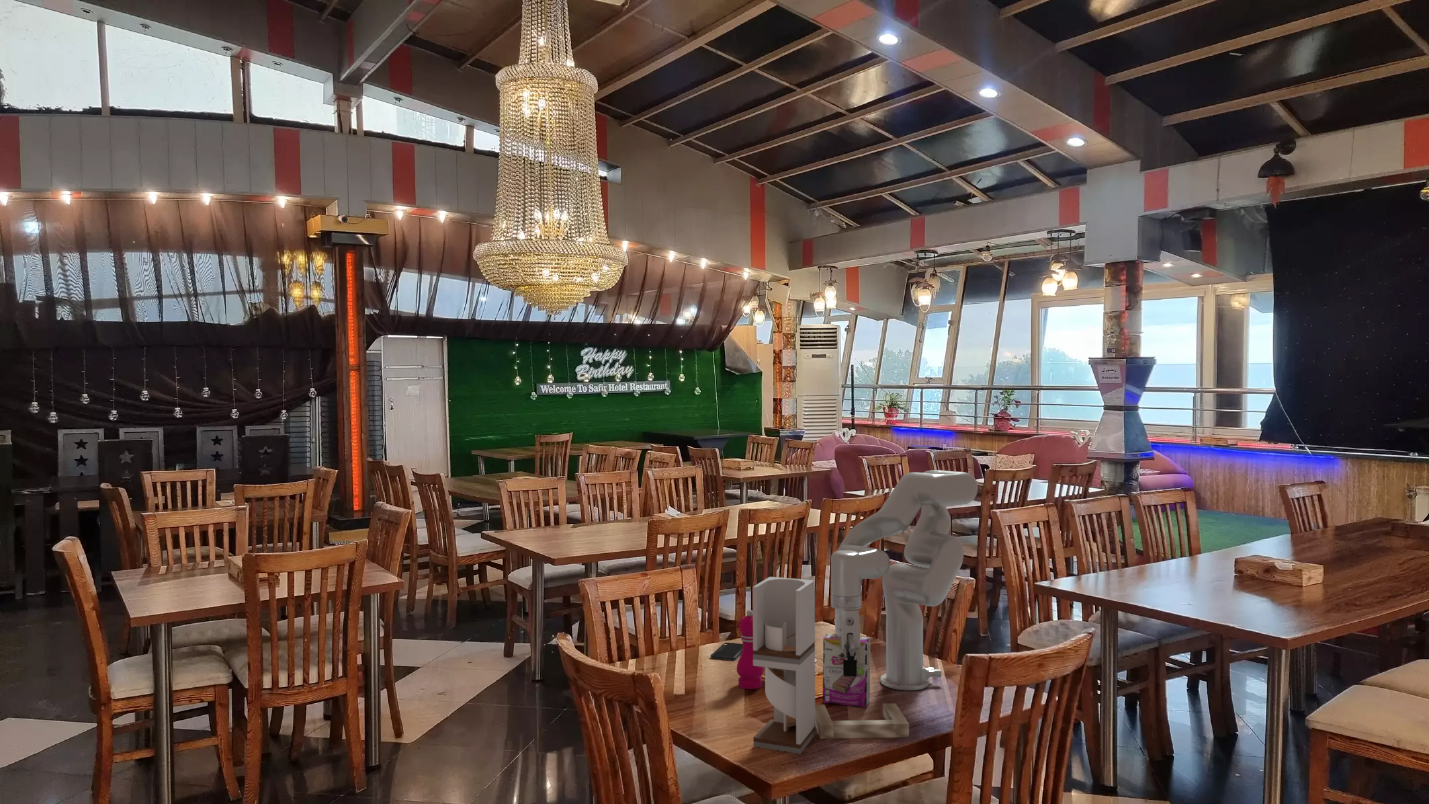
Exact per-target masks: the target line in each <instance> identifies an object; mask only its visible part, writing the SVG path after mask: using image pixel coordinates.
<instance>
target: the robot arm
mask: <svg viewBox="0 0 1429 804" xmlns="http://www.w3.org/2000/svg"><path fill="white" fill-rule="evenodd" d="M976 479H977V478H975V477H974V476H973V475H972V473H971V474H970V473H969V472H964V471H952V470H951V471H950V470H939V469H934V470H932V469H931V470H926V471H924V472H917V471H916V472H915V471H914V472H908V473H905V474H903V476H902V477H900V479H899V480H898V482H897V484H896V485H895V486H894V488H893V490H892V491H891V493H890V494H889V496H888V498H886V500H885V502H884V503H883V505H882V506H881V508H880V509H879V510H878V511H877V512H875V513H874V514H871V515H870V516H867V518H865V519H863V520H862V521H861V522H859V523H857V524H856V525H854V526H853V527H852V528H851V530H849V532H848V533H847V534H846V535H845V537H844V539H843V540H842V542H841V544H840V545H839V547H838V549H837V550H836V551H834V552H832V554H831V556H830V561H831V562H830V594H831V595H830V607H831V608H832V609H834V634H836V636H837V638H838V640H839V646H840V648H841V649H842V650H844V658H845V660H843V675H844V676H845V677H847V676H857V660H856V650H855V647H856V649H858V650H859V649H860V648H861V641H860V637H861V625H860V622H861V621H860V613H859V611H860V609H862V607H863V606H862V602H863V601H862V593H863V590H862V588H863V587H862V580H864V579H870V580H871V579H872V580H873V579H874V580H875V579H880V578H882V580H881V582H882V589H883V590H882V591H883V595H884V600H885V601H884V602H885V615H886V616H885V617H886V619H885V620H886V621H885V622H886V624H885V629H886V631H885V632H886V633H885V642H886V643H885V644H886V645H885V651H886V653H885V655H886V656H885V657H886V658H885V660H886V661H885V663H886V664H885V665H886V668H885V669H886V670H885V671H886V673H883V674H882V675H881V676H880V678H879V679H880V681H879V682H880V683H881V684H882V685H883V686H885V687H887V688H890V689H892V690H898V691H919V690H923V689H926V688H928V687H929V686H930V678H941V677H942V670H941V669H935V668H934V667H927V668H926V667H925V666H924V619H923V618H924V617H923V613H922V610H921V607H920V605H921V606H927V607H937V606H939V605H941V603H942V602H944V601H945V599H946V597H947V595H948V593H949V592H950V590H951V588H952V585H953V583H955V579H956V578H957V576H958V573H959V571H960V570H961V567H962V565H963V561H964V554H965V551H964V546H963V543H962V541H961V540H960V539H958V538H957V537H956V536H953V535H951V534H948V533H949V532H950V529H951V525H952V519H951V515H950V513H949V511H948V509H947V507H953V506H954V507H955V506H961V505H968V504H969V503H971V502H973V500H974V499H975V498H976V496H977V495H978V490H979V489H978V487H979V486H978V482H977V480H976ZM920 510H921V513H920V516H919V518H918V520H917V522H916V524H915V527H914V528H913V530H912V532H911V534H910V535H909V538H908V539H907V542H906V543H905V545H904V550H903V554H904V555H903V556H904V558H905V560H906V561H907V562H908V563H909V564H907V563H899V562H898V563H893V564H891V558H890V557H889V555H888V553H886V552H885V550H881V549H880V548H875V547H871V546H870V545H871V544H873V542H876V541H878V540H880V539H884V538H888V537H891V536H895V535H898V534H901V533H904V532H906V531H907V530H908V529H909V527H910V526H911V524H912V522H913V521H914V519H915V517H916V516H917V514H918V513H919V511H920ZM847 639H848V640H847ZM845 646H849V647H845ZM847 651H848V653H847Z"/></svg>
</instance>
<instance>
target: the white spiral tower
mask: <svg viewBox="0 0 1429 804" xmlns="http://www.w3.org/2000/svg"><path fill="white" fill-rule="evenodd" d="M815 583H816V582H815V580H814V579H803V578H802V579H801V578H791V577H789V578H788V577H776V576H769V577H767V578H765V579H764V580H762V581H760V582H759V583H757V584H755V585H754V586H752V611H753V666H760V667H764V689H765V690H764V691H765V696H766V697H765V698H766V699H767V701H768V702H769V703H770V704H771V705H772V706H773V719H769V720H768V721H767V722H766V724H764V726H763V727H761V729H760V730H758V732H757V733H756V734H755V735H754V736H753V746H755V747H754V748H758V747H762V748H761V749H764V750H771V749H774V750H773V751H777V750H779V751H778V752H784V751H787V752H786V753H790V752H791V754H796V753H797V754H796V755H801V754H802V753H803V752H804V750H805V749H806V747H808V745H809V744H810V742H811V741H812V740H813V738H814V737H815V735H816V727H815V705H816V652H815V651H816V640H815V639H816V638H815V637H816V627H815V625H816V616H815V615H816V613H815V612H816V610H815V609H816V607H815V605H816V604H815V603H816V602H815V601H816V599H815V598H816V597H815V595H816V593H815V590H816V589H815V587H816V586H815Z"/></svg>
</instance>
